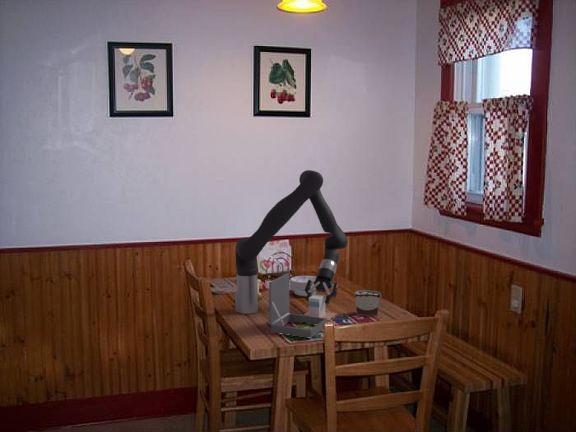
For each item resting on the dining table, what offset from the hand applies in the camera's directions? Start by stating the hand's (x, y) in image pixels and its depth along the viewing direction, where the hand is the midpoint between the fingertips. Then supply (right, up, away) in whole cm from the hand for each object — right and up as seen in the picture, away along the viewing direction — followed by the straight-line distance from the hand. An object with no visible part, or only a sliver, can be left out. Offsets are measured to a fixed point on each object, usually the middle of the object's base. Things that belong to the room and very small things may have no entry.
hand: (316, 302), depth 285 cm
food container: (+23, -6, +7) cm, 25 cm away
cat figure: (-29, -1, +41) cm, 50 cm away
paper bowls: (-4, -1, +39) cm, 40 cm away
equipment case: (-8, -9, -16) cm, 20 cm away
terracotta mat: (0, -7, +1) cm, 7 cm away
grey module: (0, -6, +1) cm, 6 cm away
